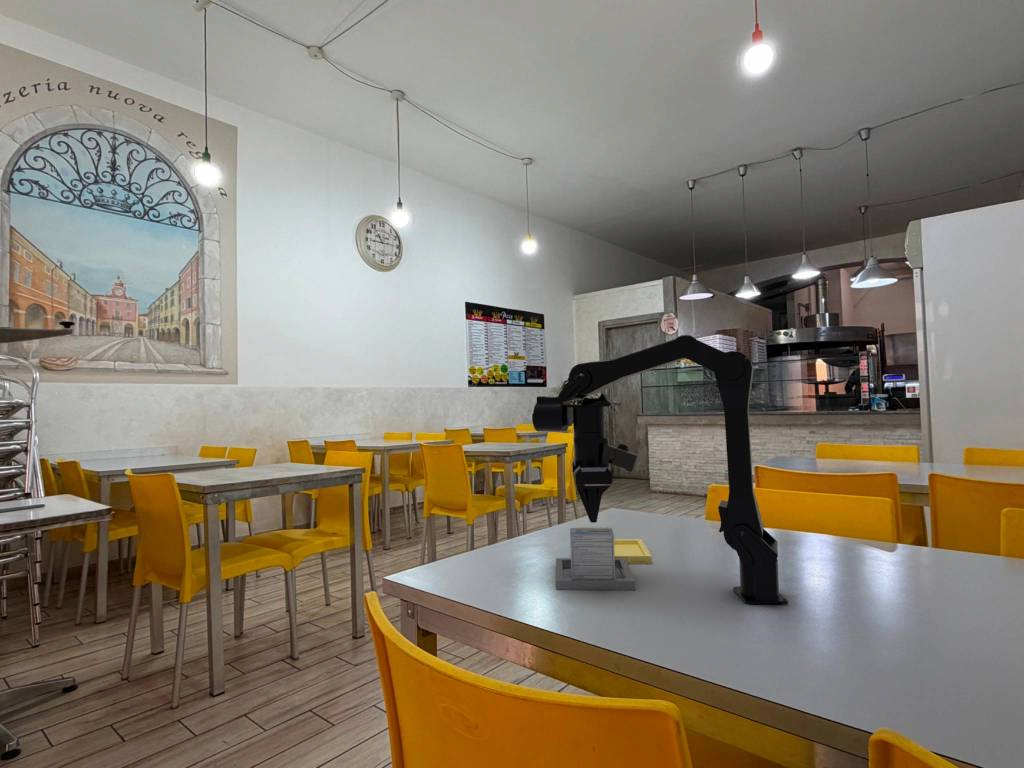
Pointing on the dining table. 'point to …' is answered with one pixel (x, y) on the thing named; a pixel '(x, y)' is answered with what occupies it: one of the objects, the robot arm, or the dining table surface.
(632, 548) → the tray
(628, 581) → the socket frame
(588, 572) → the medicine box
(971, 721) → the dining table surface
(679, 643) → the dining table surface
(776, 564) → the robot arm
